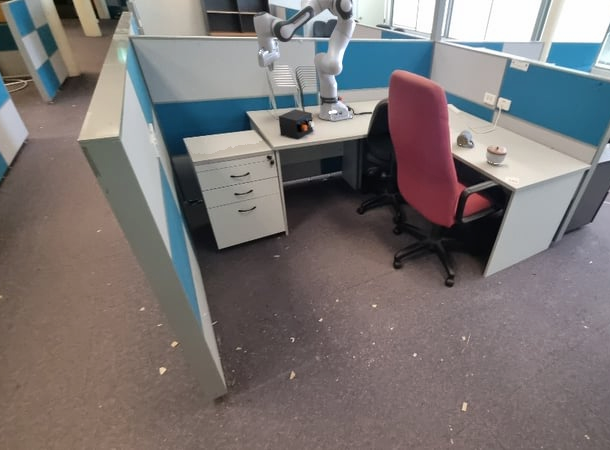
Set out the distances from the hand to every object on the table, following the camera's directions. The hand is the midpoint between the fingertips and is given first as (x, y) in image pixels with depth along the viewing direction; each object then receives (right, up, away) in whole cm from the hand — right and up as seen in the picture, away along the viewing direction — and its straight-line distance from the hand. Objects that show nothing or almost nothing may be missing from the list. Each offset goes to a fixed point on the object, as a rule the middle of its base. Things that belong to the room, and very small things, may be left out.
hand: (271, 70), depth 199 cm
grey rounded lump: (+118, -44, +4) cm, 126 cm away
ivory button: (+24, -34, -1) cm, 42 cm away
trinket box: (+130, -59, -15) cm, 143 cm away
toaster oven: (+16, -37, +2) cm, 40 cm away
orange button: (+21, -38, -6) cm, 44 cm away
